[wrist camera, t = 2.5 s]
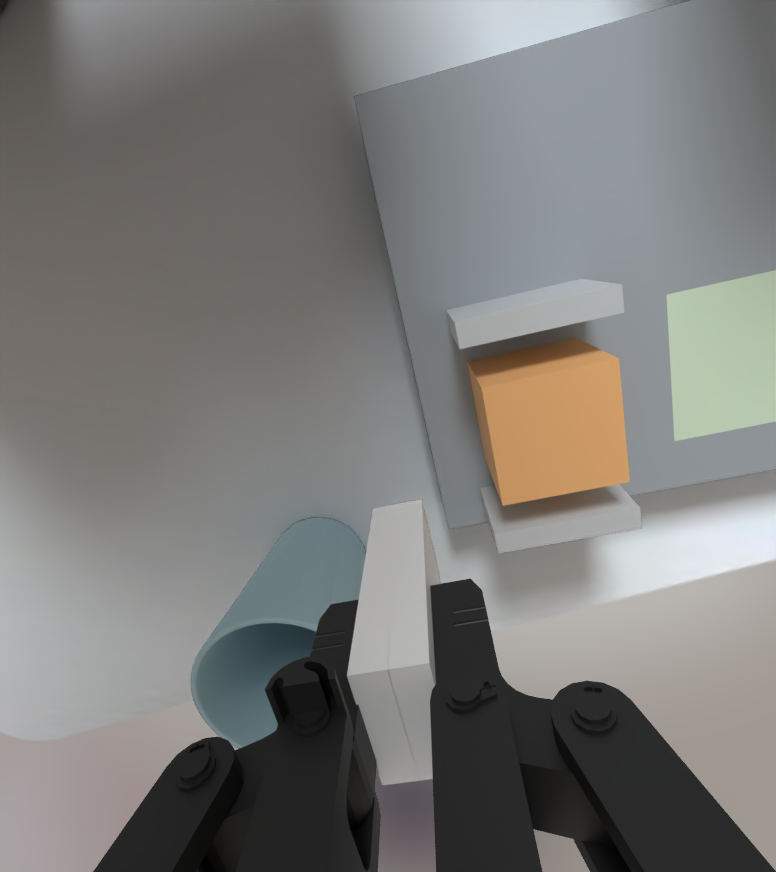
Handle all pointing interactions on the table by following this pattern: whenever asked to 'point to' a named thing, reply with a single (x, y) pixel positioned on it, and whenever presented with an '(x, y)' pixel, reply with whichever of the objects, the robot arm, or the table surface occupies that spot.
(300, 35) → the table surface
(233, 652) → the cup
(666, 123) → the platform
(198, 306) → the table surface
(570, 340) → the orange block
